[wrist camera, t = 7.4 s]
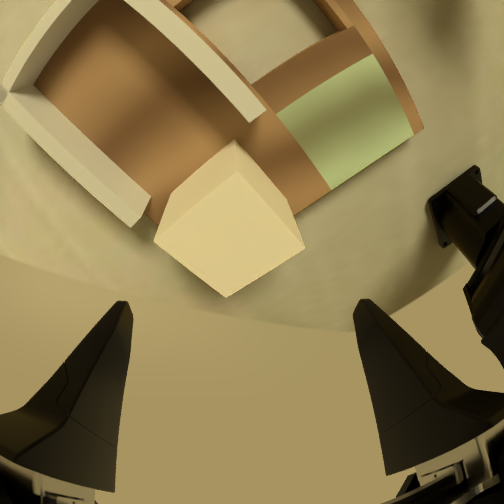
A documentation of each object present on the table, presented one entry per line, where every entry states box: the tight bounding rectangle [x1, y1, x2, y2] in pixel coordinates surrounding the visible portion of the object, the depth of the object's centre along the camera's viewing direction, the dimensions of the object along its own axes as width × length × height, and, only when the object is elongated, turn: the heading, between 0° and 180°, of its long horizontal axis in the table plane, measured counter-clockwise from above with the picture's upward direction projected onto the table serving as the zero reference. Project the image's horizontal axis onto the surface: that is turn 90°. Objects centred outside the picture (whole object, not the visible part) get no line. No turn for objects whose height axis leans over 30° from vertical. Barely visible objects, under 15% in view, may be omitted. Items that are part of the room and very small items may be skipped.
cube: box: [154, 139, 305, 298], centre depth 15 cm, size 5×5×5 cm
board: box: [33, 0, 424, 225], centre depth 12 cm, size 20×18×2 cm
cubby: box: [0, 0, 266, 228], centre depth 11 cm, size 12×10×2 cm
